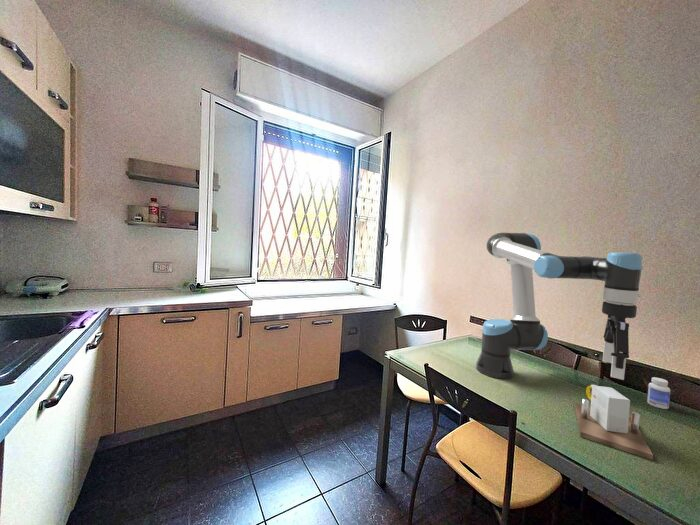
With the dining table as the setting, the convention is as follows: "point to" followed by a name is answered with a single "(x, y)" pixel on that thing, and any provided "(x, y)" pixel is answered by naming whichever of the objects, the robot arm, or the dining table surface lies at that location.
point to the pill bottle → (658, 393)
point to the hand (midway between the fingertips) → (612, 369)
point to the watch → (589, 391)
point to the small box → (610, 409)
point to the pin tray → (621, 441)
